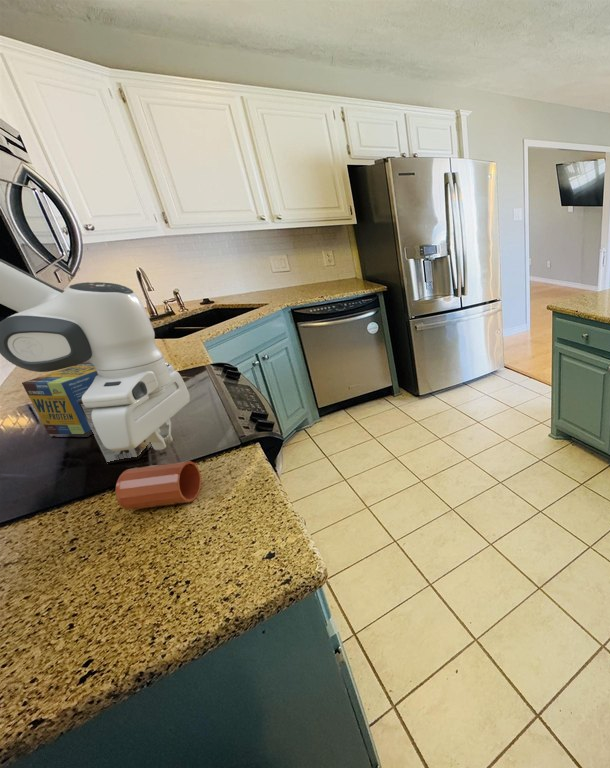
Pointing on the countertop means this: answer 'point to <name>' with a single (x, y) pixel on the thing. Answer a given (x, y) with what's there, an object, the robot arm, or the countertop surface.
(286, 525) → the countertop surface
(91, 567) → the countertop surface
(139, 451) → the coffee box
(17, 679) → the countertop surface
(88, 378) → the protein box
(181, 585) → the countertop surface
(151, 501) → the cup
